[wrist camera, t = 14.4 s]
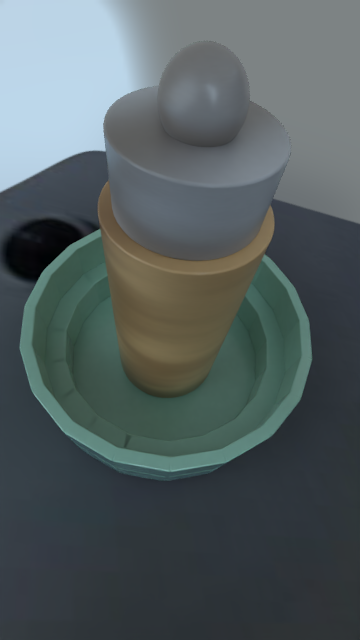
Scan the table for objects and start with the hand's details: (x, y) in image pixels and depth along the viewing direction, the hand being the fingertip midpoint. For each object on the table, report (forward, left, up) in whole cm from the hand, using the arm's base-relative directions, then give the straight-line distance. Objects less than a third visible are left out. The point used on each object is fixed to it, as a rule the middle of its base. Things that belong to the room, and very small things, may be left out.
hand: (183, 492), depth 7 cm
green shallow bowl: (+7, -1, -9) cm, 11 cm away
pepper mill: (+7, -1, -8) cm, 11 cm away
